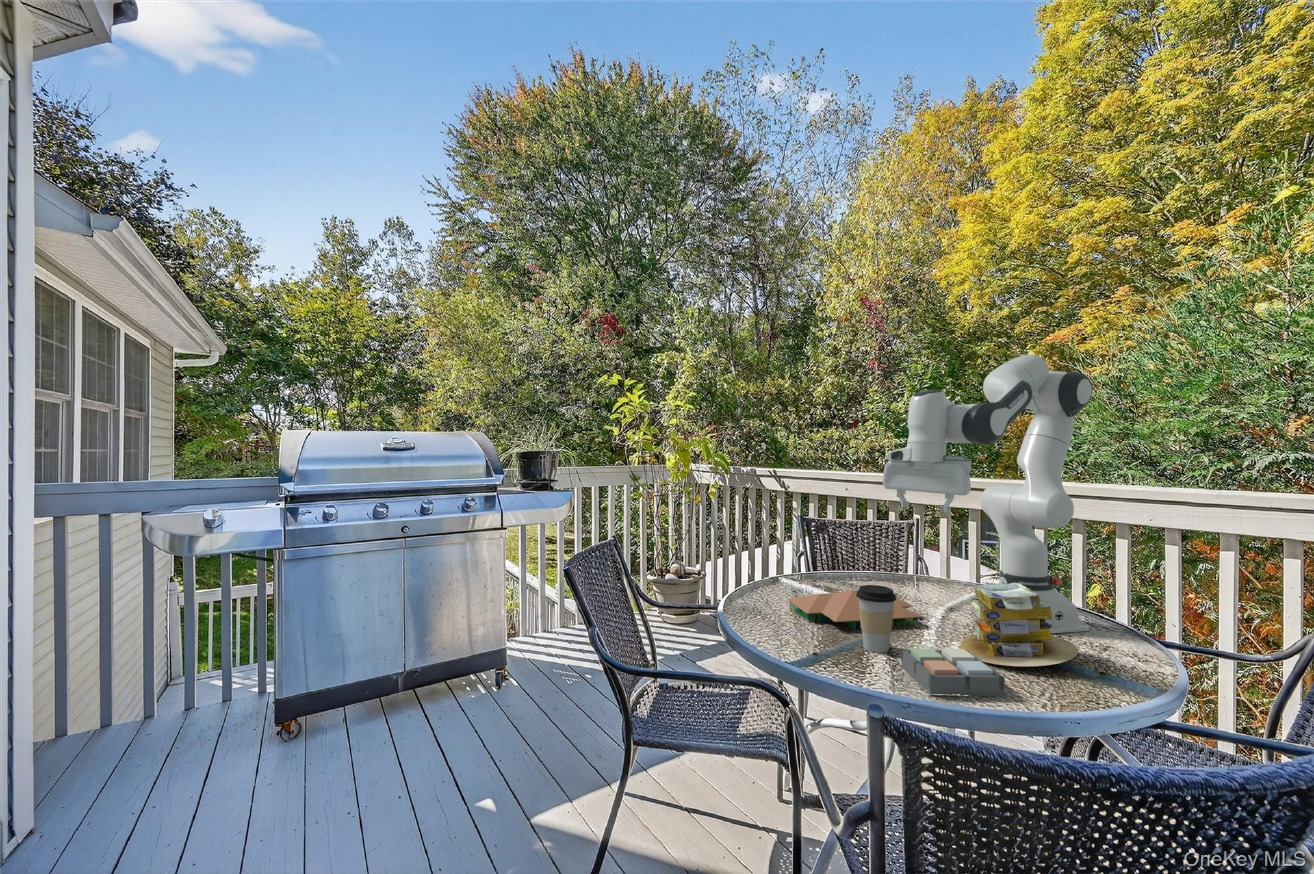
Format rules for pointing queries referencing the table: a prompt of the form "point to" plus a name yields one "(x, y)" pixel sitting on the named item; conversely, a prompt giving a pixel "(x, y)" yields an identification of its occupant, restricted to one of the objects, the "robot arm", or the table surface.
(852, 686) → the table surface
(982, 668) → the key bluegrey
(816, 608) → the house
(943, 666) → the key terracotta
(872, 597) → the coffee cup
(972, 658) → the key cream
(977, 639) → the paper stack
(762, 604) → the table surface
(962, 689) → the keypad
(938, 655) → the key sage
